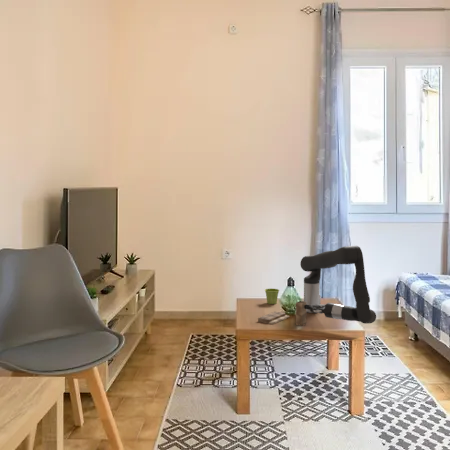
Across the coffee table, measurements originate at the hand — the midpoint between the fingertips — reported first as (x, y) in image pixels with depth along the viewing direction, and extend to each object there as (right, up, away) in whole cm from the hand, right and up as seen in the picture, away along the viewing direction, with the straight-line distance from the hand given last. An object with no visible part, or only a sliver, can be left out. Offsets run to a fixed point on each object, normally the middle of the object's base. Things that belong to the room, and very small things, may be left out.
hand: (305, 306), depth 252 cm
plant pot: (-13, -7, +52) cm, 54 cm away
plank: (-2, -10, +2) cm, 10 cm away
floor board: (-15, -9, +12) cm, 22 cm away
